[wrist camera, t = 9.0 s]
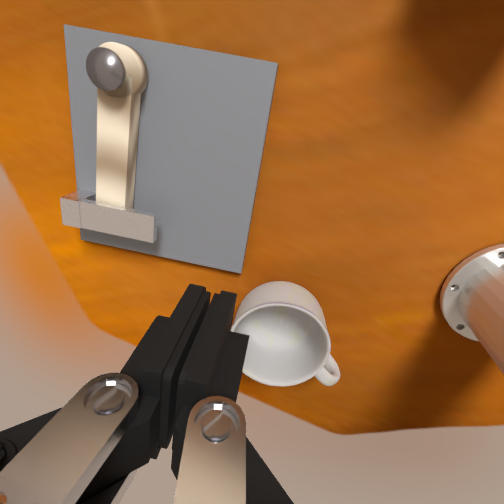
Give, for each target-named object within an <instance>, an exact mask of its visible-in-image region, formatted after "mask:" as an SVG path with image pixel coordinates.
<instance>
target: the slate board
mask: <svg viewBox="0 0 504 504" xmlns="http://www.w3.org/2000/svg"><path fill="white" fill-rule="evenodd" d="M64 34H65V46H66V58H67V71H68V83H69V96H70V108H71V120H72V133H73V145H74V158H75V170H76V182H77V190H80V189H84V190H89V191H94V192H96V159H97V88H98V87H96V86H95V85H94V84H93V83H92V81H91V80H90V78H89V76H88V74H87V71H86V59H87V56H88V54H89V53H90V51H91V50H93V49H94V48H97V47H99V46H100V45H101V44H103V43H106V42H116V43H119V44H123V45H126V46H129V47H131V48H133V49H135V50H136V51H137V52H138V53H139V54H140V55H141V56H142V58H143V59H144V61H145V63H146V66H147V69H148V83H147V86H146V88H145V90H144V92H143V93H142V94H141V100H140V115H139V129H138V143H137V158H136V172H135V186H134V201H133V209H136V210H141V211H146V212H151V213H155V214H157V240H156V241H155V242H154V243H151V242H146V241H141V240H136V239H132V238H127V237H122V236H117V235H113V234H108V233H103V232H98V231H94V230H89V229H84V228H80V232H81V240H85V241H90V242H94V243H99V244H104V245H109V246H113V247H118V248H123V249H127V250H132V251H137V252H141V253H146V254H151V255H156V256H160V257H165V258H170V259H174V260H179V261H184V262H189V263H193V264H198V265H203V266H207V267H212V268H217V269H222V270H226V271H231V272H236V273H240V274H241V272H242V269H243V263H244V258H245V252H246V246H247V240H248V235H249V229H250V223H251V218H252V212H253V206H254V201H255V195H256V189H257V184H258V178H259V172H260V166H261V161H262V155H263V149H264V144H265V138H266V132H267V127H268V121H269V115H270V110H271V104H272V98H273V92H274V87H275V81H276V75H277V70H278V63H275V62H269V61H264V60H258V59H253V58H247V57H242V56H236V55H231V54H225V53H220V52H214V51H209V50H203V49H198V48H192V47H187V46H181V45H176V44H170V43H165V42H159V41H154V40H148V39H143V38H137V37H131V36H126V35H120V34H115V33H109V32H104V31H98V30H93V29H87V28H82V27H76V26H71V25H65V24H64Z"/></svg>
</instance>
